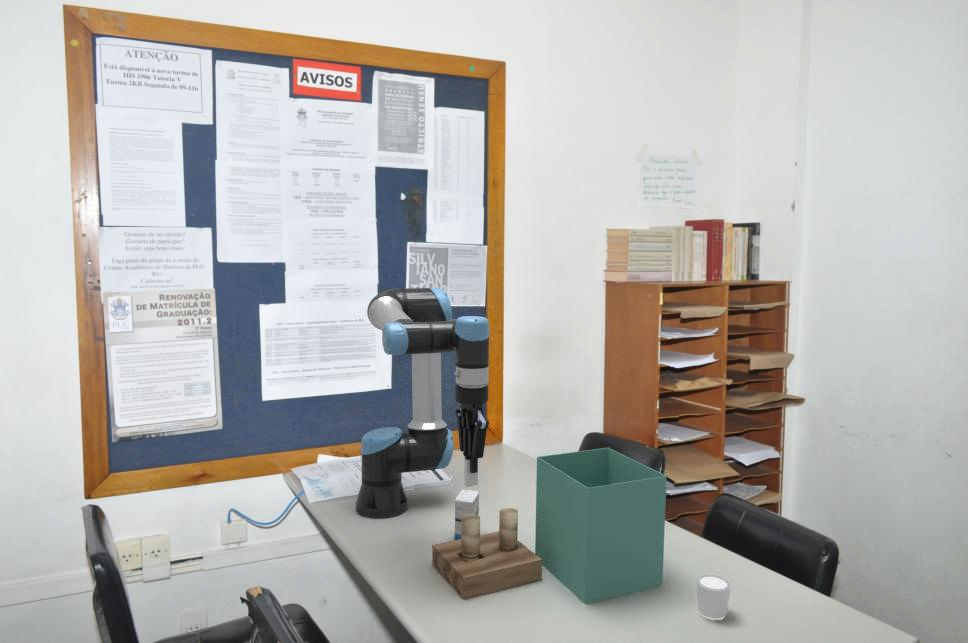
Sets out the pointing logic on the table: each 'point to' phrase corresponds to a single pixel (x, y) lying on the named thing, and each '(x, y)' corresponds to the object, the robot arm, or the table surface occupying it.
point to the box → (600, 522)
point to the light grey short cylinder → (712, 596)
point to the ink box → (465, 508)
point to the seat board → (489, 561)
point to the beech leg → (470, 537)
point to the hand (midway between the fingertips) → (471, 484)
